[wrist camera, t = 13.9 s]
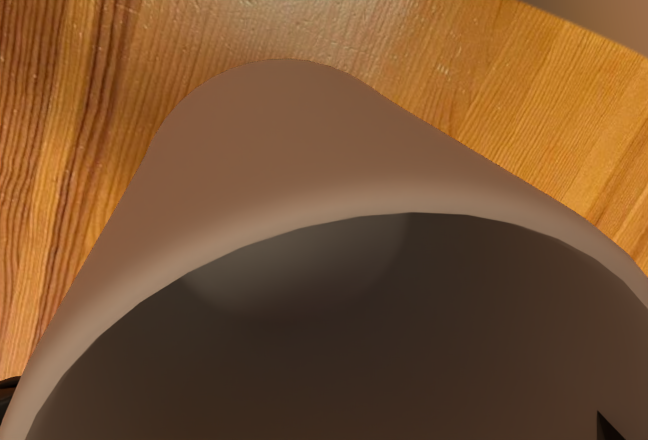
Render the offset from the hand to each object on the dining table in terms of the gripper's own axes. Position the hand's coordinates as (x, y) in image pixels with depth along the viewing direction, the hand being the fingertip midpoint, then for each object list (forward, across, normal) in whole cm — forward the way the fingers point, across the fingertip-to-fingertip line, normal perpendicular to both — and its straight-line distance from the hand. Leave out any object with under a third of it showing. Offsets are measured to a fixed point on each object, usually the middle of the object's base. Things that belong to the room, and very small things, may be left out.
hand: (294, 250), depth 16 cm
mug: (+1, 0, 0) cm, 1 cm away
